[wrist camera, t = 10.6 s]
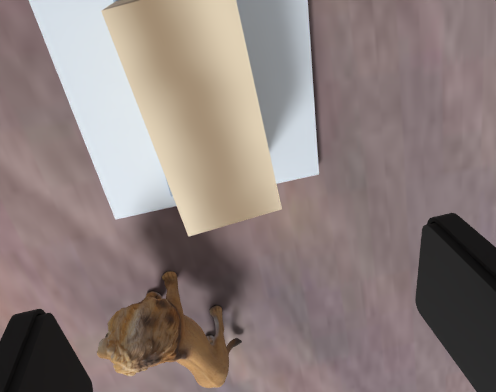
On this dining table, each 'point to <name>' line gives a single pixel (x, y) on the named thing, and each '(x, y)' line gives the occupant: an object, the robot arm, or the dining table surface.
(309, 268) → the dining table surface
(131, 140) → the board
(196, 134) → the oak block
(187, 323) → the lion figurine
